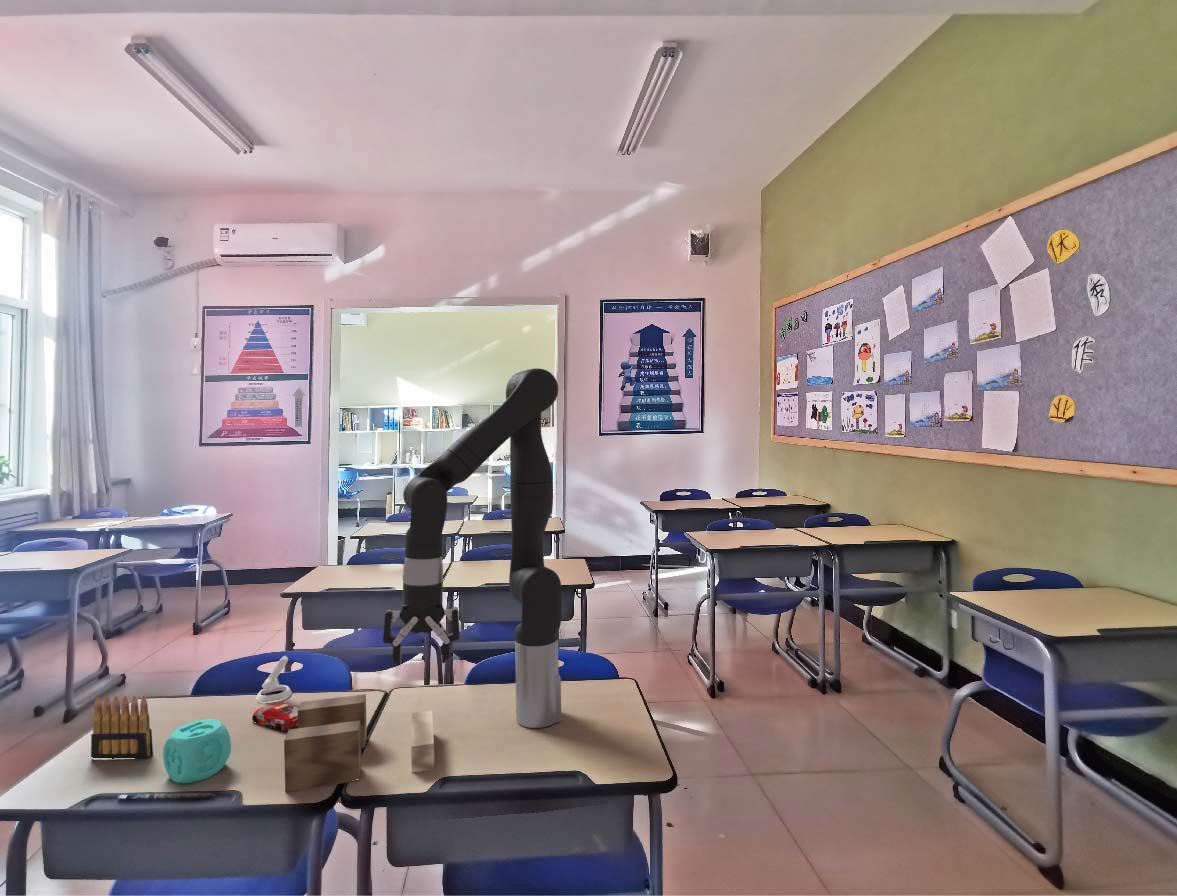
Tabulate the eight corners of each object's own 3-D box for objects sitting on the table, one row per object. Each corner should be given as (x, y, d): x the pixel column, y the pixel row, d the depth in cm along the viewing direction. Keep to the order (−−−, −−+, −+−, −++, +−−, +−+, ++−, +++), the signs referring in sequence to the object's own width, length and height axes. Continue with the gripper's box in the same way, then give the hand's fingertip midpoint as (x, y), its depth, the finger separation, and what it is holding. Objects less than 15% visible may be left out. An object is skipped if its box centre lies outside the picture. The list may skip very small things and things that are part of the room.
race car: (247, 722, 132) (247, 704, 131) (271, 712, 136) (270, 695, 136) (285, 736, 125) (285, 717, 125) (309, 725, 130) (308, 706, 130)
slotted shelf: (366, 738, 123) (365, 694, 123) (359, 780, 108) (358, 730, 108) (302, 746, 120) (301, 701, 120) (285, 791, 105) (284, 740, 104)
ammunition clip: (90, 760, 116) (88, 698, 116) (98, 755, 118) (96, 694, 118) (146, 759, 116) (145, 697, 116) (153, 754, 118) (152, 693, 118)
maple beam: (432, 734, 125) (432, 710, 125) (434, 770, 111) (433, 743, 111) (412, 737, 124) (411, 713, 124) (411, 773, 110) (411, 746, 110)
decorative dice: (208, 756, 117) (207, 715, 117) (232, 767, 113) (231, 724, 113) (162, 776, 110) (161, 732, 110) (186, 788, 106) (184, 743, 106)
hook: (301, 681, 140) (273, 667, 138) (275, 720, 141) (247, 706, 140) (312, 663, 147) (286, 649, 146) (287, 700, 149) (260, 687, 147)
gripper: (460, 575, 123) (459, 654, 123) (387, 576, 121) (386, 658, 120) (459, 583, 116) (458, 668, 116) (382, 584, 113) (380, 671, 113)
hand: (421, 662), depth 118 cm, fingers open, 8 cm apart
